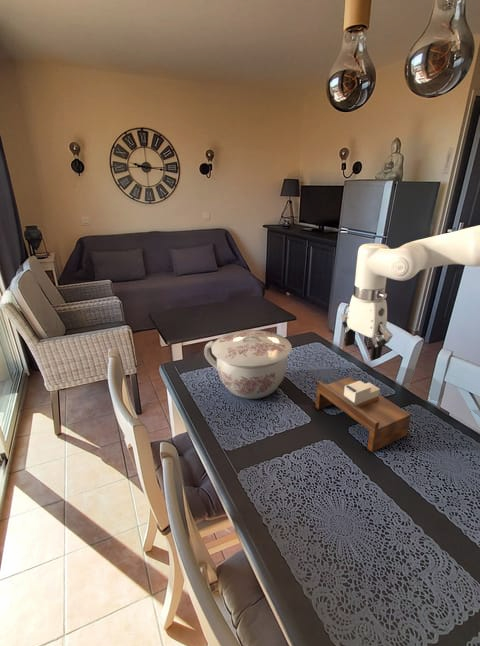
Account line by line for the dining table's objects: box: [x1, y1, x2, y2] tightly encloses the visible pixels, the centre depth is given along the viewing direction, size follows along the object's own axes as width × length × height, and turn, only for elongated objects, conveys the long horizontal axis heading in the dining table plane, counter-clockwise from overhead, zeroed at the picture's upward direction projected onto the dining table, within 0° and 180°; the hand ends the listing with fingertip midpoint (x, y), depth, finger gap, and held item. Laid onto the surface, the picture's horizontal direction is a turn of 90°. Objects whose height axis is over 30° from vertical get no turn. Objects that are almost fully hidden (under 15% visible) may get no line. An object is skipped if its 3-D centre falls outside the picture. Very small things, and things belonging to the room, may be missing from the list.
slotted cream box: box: [344, 380, 381, 407], centre depth 107 cm, size 10×4×6 cm, turn 118°
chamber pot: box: [203, 329, 293, 400], centre depth 126 cm, size 28×28×21 cm
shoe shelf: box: [315, 376, 412, 453], centre depth 109 cm, size 14×24×10 cm, turn 28°
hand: (361, 351), depth 100 cm, fingers open, 9 cm apart
